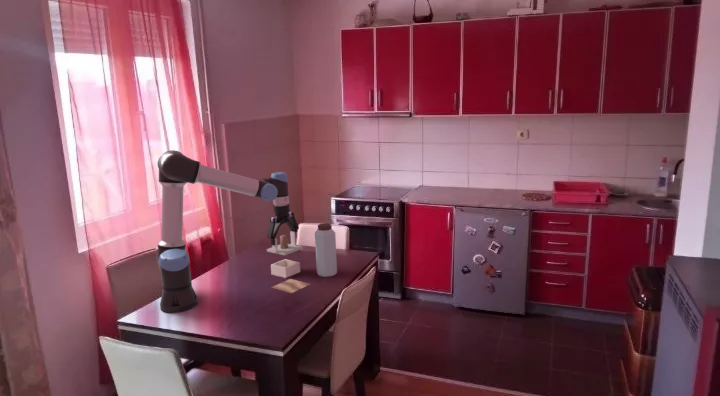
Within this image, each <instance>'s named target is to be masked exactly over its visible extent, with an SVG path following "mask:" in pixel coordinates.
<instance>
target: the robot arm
mask: <svg viewBox="0 0 720 396" xmlns="http://www.w3.org/2000/svg"><path fill="white" fill-rule="evenodd" d="M157 167H158V183H160V185H161V186H162V187H161V188H162V190H161V193H162V194H161V200H162V201H161V239H160V240H159V241H158V243H157V253H156V258H155V260H156V264H157V266H158V268H159V271H160V276H161V277H160V278H161V285H162V292H161V298H160V302H159V306H160V310H161V311H162V312H164V313H181V312H184V311H188V310H191V309H193V308H195V307H196V306H197V305H198V304H199V303H198V302H199V300H198V299H199V298H198V296H197V293H196V291H195V289H194V288H193V283H192V274H191V264H190V261H191V260H190V255H189V252H188V251H186V248H187V247H186V246H187V245H186V244H187V243H186V241H185V240H184V239H183V229H184V228H183V225H184V222H183V221H184V219H183V218H184V187H185V185H186V184H187V183H188V184H191V185H192V184H193V185H194V184H196V183H199V184H203V185H207V186H210V187H214V188H219V189H223V190H227V191H230V192H234V193H238V194H243V195H246V196H249V197H254V198H258V199H261V200H264V201H267V202H272V203H273V213H274V217H273V216H271V217H269V220H270V221H269V226H268V230H267V234H266V238H267V239H270V244H271V247H272V251H275V252H278V249H277V245H278V239H277V238H276V237H277V234H278V232H279V230H280V227H281V226H282V225H283V224H286V225H287V227H288V228H289V230H290V231H289V234H290V244H292V245H297V239H296V238H297V232H298V230H299V229H300V228H299V225H298V222H297V220H296V218H295V213H294V212H293V211H291V209H290V197H289V196H290V195H289V180H288V174H287V172H285V171H276V172H273V173H272V172H271V176H270V177H267V178H266V177H265V178H257V179H255V178H253V177H248V176H243V175H240V174H238V173H233V172H229V171H226V170H222V169H218V168H214V167H210V166H207V165H204V164H202V163H201V162H200V161H199V160H195V159H193V158H190V157H188V156H186V155H184V154H183V153H182V152H181V151H178V150H175V149H174V150H166V151H164V152H163V153H161V155H160V156H159V158H158V160H157Z"/></svg>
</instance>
